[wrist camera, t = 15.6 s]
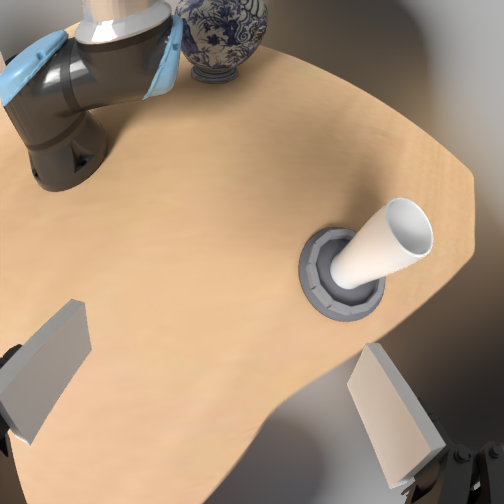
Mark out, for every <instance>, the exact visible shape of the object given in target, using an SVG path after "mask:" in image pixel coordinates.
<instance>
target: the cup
mask: <svg viewBox="0 0 504 504" xmlns="http://www.w3.org/2000/svg"><path fill="white" fill-rule="evenodd" d="M5 68H6V66H5V63H4V60H3V57H2V55H1V51H0V74H1V73H2V71H3V70H4V69H5Z"/></svg>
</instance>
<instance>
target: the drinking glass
mask: <svg viewBox="0 0 504 504" xmlns="http://www.w3.org/2000/svg"><path fill="white" fill-rule="evenodd" d="M432 245H433V231H432V228H431V225H430V222H429V220H428V218H427V216H426V215H425V213H424V212H423V211H422V209H421V208H420V207H419V206H418V205H417V204H415V203H414V202H413V201H411V200H409V199H407V198H404V197H395V198H393V199H391V200H390V201H389V202H387V203H386V204H385V205H384V206H383V207H381V208H380V209H379V210H378V211H377V212H376V213H375V214H374V215H373V216H372V217H371V218H370V219H369V220H368V221H367V222H366V223H365V224H364V226H363V227H362V228H361V229H360V230H359V231H358V233H357V234H356V235H355V236H354V237H353V238H352V239H351V241H350V242H349V243H348V244H347V245H346V246H345V247H344V248H343V250H342V251H341V252H340V253H338V254H337V255H336V256H335V257H334V258H333V260H332V262H331V265H330V273H331V276H332V279H333V280H334V282H335V283H336V284H337V285H338V286H340V287H341V288H344V289H354V288H356V287H358V286H360V285H363V284H365V283H368V282H371V281H373V280H376V279H379V278H382V277H384V276H387V275H390V274H392V273H395V272H398V271H400V270H402V269H404V268H406V267H408V266H410V265H412V264H414V263H415V262H417V261H418V260H420V259H421V258H423V257H424V256H426V255H427V254H428V253H429V252H430V251H431V249H432Z"/></svg>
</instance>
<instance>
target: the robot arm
mask: <svg viewBox="0 0 504 504" xmlns="http://www.w3.org/2000/svg"><path fill="white" fill-rule="evenodd" d="M81 4H82V9H83V14H84V18H83V20H82V21H81V23H80V24H79V25H78V27H77V28H76V30H75V37H73V38H70V39H68V34H67V33H66V31H64V30H60V31H56V32H53V33H51V34H49V35H47V36H45V37H43V38H41V39H40V40H38V41H36V42H35V43H34V44H32V45H31V46H29V47H28V48H26V49H25V50H24V51H22V52H21V53H20V54H19V55H18V56H16V57H15V58H14V59H13V60H12V61H11V62H10V63H9V64H8V65H7V66H6V68H5V69H4V70H3V71H2V73H1V74H0V99H1V102H2V106H3V107H4V109H5V111H6V112H7V114H8V116H9V118H10V120H11V122H12V123H13V125H14V127H15V129H16V130H17V132H18V134H19V135H20V137H21V139H22V140H23V142H24V144H25V145H26V147H27V149H28V154H29V159H30V164H31V169H32V173H33V176H34V178H35V179H36V181H37V182H38V184H39V185H40V186H41V187H42V188H43V189H45V190H47V191H51V192H58V191H64V190H67V189H70V188H72V187H74V186H76V185H78V184H80V183H81V182H83V181H84V180H85V179H87V178H88V177H89V176H90V175H91V174H92V173H93V172H94V171H95V170H96V169H97V168H98V167H99V165H100V164H101V162H102V161H103V159H104V157H105V155H106V152H107V148H108V140H107V137H106V134H105V131H104V129H103V127H102V125H101V124H100V123H99V122H98V121H97V120H96V119H95V118H94V117H93V115H92V114H91V113H90V112H89V111H88V110H90V109H94V108H99V107H103V106H108V105H112V104H117V103H123V102H128V101H134V100H140V99H141V100H143V99H146V98H148V97H153V96H158V95H163V94H165V93H167V92H169V91H170V90H171V89H172V88H173V86H174V84H175V81H176V77H177V72H178V66H179V59H180V47H181V41H182V34H183V20H182V18H181V17H179V16H174V15H172V16H171V6H170V5H169V4H168V3H167V2H165V1H163V0H81ZM91 350H92V349H91V343H90V337H89V331H88V325H87V317H86V310H85V303H84V302H81V301H77V300H74V299H71V300H70V301H69V302H68V303H67V304H66V305H65V306H63V307H62V308H61V309H60V310H59V311H58V312H57V313H56V314H55V315H54V316H53V317H52V318H50V319H49V320H48V321H47V322H46V323H45V324H44V325H43V326H42V327H41V328H40V329H39V330H38V331H37V332H36V333H35V334H34V335H33V336H32V337H31V338H30V339H29V340H28V341H27V342H26V343H25V344H24V345H23V346H22V345H20V344H18V345H16V346H14V347H12V348H10V349H9V350H8V351H7V352H6V353H5V354H4V355H3V358H2V357H1V358H0V504H27V502H26V500H25V497H24V494H23V491H22V487H21V484H20V481H19V477H18V474H17V470H16V466H15V462H14V458H13V453H12V448H11V443H10V438H9V435H8V433H7V431H8V430H9V428H10V429H11V431H12V432H13V433H14V435H15V436H16V437H17V438H19V439H20V440H22V441H23V442H25V443H27V444H28V445H31V443H32V442H33V440H34V438H35V436H36V435H37V433H38V431H39V429H40V428H41V426H42V424H43V423H44V421H45V419H46V418H47V416H48V414H49V413H50V411H51V410H52V408H53V406H54V405H55V403H56V402H57V400H58V398H59V397H60V395H61V394H62V392H63V391H64V389H65V388H66V386H67V385H68V383H69V382H70V380H71V379H72V377H73V376H74V374H75V373H76V371H77V370H78V368H79V367H80V366H81V364H82V363H83V361H84V360H85V358H86V357H87V356H88V354H89V353H90V351H91ZM347 386H348V389H349V391H350V394H351V396H352V398H353V400H354V403H355V405H356V407H357V410H358V412H359V414H360V417H361V419H362V421H363V423H364V426H365V428H366V431H367V433H368V435H369V438H370V440H371V443H372V445H373V448H374V450H375V453H376V455H377V457H378V460H379V462H380V465H381V467H382V470H383V472H384V475H385V477H386V480H387V482H388V485H389V488H393V487H397V486H400V485H403V484H405V483H406V482H408V481H409V480H410V479H411V478H412V477H414V479H415V482H414V483H413V484H411V485H410V486H409V487H407V488H406V489H405V490H404V491H403V492H402V493H401V495H404V494H405V493H406V492H408V491H409V490H410V491H409V493H408V494H407V495H406V496H407V499H406V502H405V504H504V451H503V449H502V447H501V446H500V445H499V444H498V443H496V442H493V441H492V442H488V443H487V444H486V445H485V446H484V447H483V448H482V449H481V450H476V451H470V450H469V449H468V448H467V447H466V446H464V445H461V444H457V445H454V444H453V442H452V441H451V440H450V438H449V436H448V434H447V433H446V431H445V430H444V428H443V426H442V425H441V423H440V422H439V421H438V419H437V417H436V416H435V415H434V414H433V411H432V409H431V408H430V407H429V405H428V404H427V403H426V402H425V401H423V400H422V399H421V398H416V396H415V395H414V393H413V392H412V390H411V389H410V387H409V386H408V384H407V383H406V381H405V380H404V378H403V377H402V375H401V374H400V372H399V371H398V370H397V368H396V367H395V365H394V364H393V362H392V361H391V360H390V358H389V357H388V355H387V354H386V352H385V351H384V350H383V348H382V347H381V345H380V344H379V343H366V345H365V347H364V349H363V351H362V354H361V356H360V358H359V360H358V363H357V365H356V367H355V369H354V371H353V373H352V376H351V377H350V379H349V381H348V383H347ZM479 481H480V487H479V488H478V489H476V490H474V487H473V486H474V485H475V484H477V483H478V482H479Z"/></svg>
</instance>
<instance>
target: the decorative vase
mask: <svg viewBox="0 0 504 504" xmlns="http://www.w3.org/2000/svg"><path fill="white" fill-rule="evenodd" d="M174 16H179V17H181V18H182V20H183V34H182V41H181V47H180V49H181V51H182V52H183V54H184V55H185V57H186V58H187V59H188V61H189V62H191V63H192V64H193V65H194V66H193V67H192V69H191V75H192V76H193V77H194V78H195V79H197V80H199V81H202V82H206V83H224V82H228V81H231V80H233V79H234V78H235V77H236V76H237V74H238V70H237V68H236V66H238V65H240V64H242V63H243V62H244V61H246V60H247V59H248V58H249V57H250V56H251V55H252V54H253V53H254V51H255V50H256V49H257V47H258V46H259V44H260V42H261V40H262V38H263V36H264V34H265V32H266V27H267V22H268V12H267V8H266V5H265V4H264V1H263V0H181V1H180V2H179V4H178V6H177V7H176V10H175V15H174Z"/></svg>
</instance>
